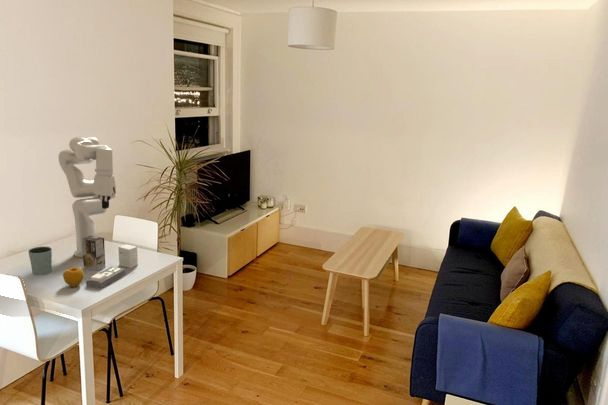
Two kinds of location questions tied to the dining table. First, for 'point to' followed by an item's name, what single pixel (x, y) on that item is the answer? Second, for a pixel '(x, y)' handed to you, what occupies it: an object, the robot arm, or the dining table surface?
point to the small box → (128, 256)
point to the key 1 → (98, 277)
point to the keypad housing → (107, 279)
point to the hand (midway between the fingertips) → (105, 208)
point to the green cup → (41, 260)
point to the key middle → (107, 274)
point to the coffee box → (93, 252)
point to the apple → (73, 276)
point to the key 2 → (114, 269)
